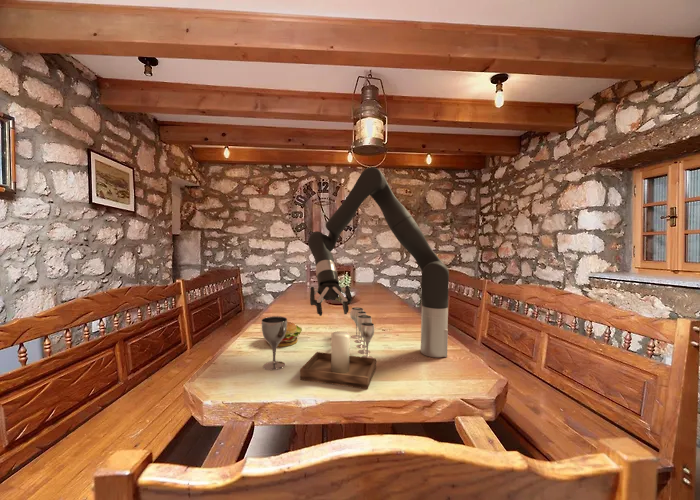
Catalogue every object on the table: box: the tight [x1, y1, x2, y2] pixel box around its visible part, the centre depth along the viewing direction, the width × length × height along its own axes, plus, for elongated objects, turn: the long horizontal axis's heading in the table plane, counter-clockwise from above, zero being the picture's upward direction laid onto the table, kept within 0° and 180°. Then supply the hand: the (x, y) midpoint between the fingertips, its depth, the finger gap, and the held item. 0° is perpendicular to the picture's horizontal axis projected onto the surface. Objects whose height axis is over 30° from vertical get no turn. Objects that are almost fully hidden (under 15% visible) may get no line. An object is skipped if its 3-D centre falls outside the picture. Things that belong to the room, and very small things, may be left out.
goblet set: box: [349, 307, 375, 358], centre depth 118 cm, size 28×6×13 cm, turn 8°
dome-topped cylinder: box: [330, 331, 351, 374], centre depth 94 cm, size 6×6×11 cm
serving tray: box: [299, 351, 377, 390], centre depth 94 cm, size 20×14×3 cm
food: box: [267, 320, 303, 348], centre depth 121 cm, size 14×14×8 cm
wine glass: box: [261, 315, 288, 371], centre depth 99 cm, size 8×8×15 cm
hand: (333, 313), depth 102 cm, fingers open, 8 cm apart
